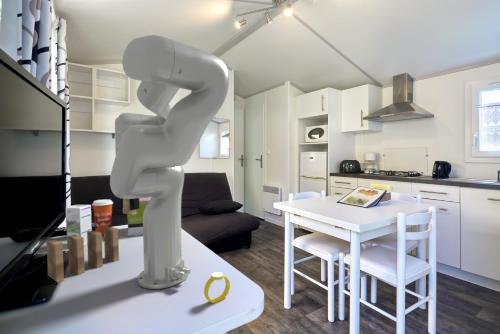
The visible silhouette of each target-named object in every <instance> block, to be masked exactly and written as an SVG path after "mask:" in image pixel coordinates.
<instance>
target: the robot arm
mask: <svg viewBox="0 0 500 334" xmlns="http://www.w3.org/2000/svg"><path fill="white" fill-rule="evenodd" d="M121 61H122V63H121V64H122V68H123V72H124V73H125V75H126V76H127V77H128V78H129V79H131V80H135V81H140V84H139V85H138V88H137V89H136V98H137V99H138V101H139V102H140V104H141V105H142V106H143V107H144V108H146V109H147V110H148V111H150V112H151V113H154V114H155V115H149V114H143V113H141V114H140V113H132V112H123V113H120V114H119V115H118V117H116V118H115V120H114V138H115V139H114V141H115V143H114V144H115V145H114V147H115V157H114V161H113V164H112V167H111V171H110V176H109V185H110V189H111V192H112V194H113V195H114V196H115V197H117V198H118V200H119V202H118V203H119V209H123V199H130V210H136V209H139V198H143V197H151V199H150V200H149V202H148V203H147V205H146V207H145V209H144V212H143V235H142V238H143V243H142V244H143V245H142V247H143V271H141V272H140V273H139V274H138V275H137V284H138V285H139V286H140V287H142V288H145V289H148V290H161V289H165V288H166V289H167V288H171V287H173V286H176V285H179V284H180V283H182V282H185V281H186V280H187V279H188V276H189V275H190V274H191V268H187V267H186V266H185V260H184V259H183V260H182V197H183V195H182V194H183V188H184V183H185V171H184V168H183V166H185V165H186V164H187V163H188V162H189V161H190V159H191V157H192V156H193V153H194V152H195V150H196V148H197V146H198V145H199V142H200V141H201V139H202V137H203V135H204V132H205V131H206V129H207V128H208V126H209V124H210V123H211V122H212V120H213V119H214V117H216V115H217V114H218V112H219V111H220V109H221V108H222V106H223V104H224V102H225V101H226V98H227V95H228V91H229V86H230V85H229V84H230V75H229V69H228V67H227V65H226V64H225V62H224V61H223V60H222V59H220V58H219V57H218V56H217V55H214V54H212V53H210V52H208V51H205V50H203V49H201V48H199V47H198V48H197V47H195V46H191V45H188V44H185V43H182V42H179V41H176V40H173V39H171V38H167V37H165V36H160V35H157V34H151V35H150V34H149V35H145V36H140V37H136V38H134V39H132V40H131V41H130V42H129V43H128V44H127V46H125V49H124V50H123V54H122V60H121ZM180 89H182V90H188V91H191V92H190V93H189V94H188V95H186V96H184V97H182V99H179V100H178V102H176V103H175V104H174V105H172V106H171V105H170V103H171V102H172V100H173V99H174V97H175V95H176V94H177V92H178V91H179V90H180Z"/></svg>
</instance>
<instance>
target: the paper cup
mask: <svg viewBox="0 0 500 334" xmlns="http://www.w3.org/2000/svg"><path fill="white" fill-rule="evenodd" d="M113 204H114V202H113V200H111V199H97V200H94V201H93V203H92V204H91V206H92V209H93V210H92V211H93V220H94V221H93V222H94V229H95V230H94V231H97V232H101V233H102V236H104V228H105V227H112V216H113Z"/></svg>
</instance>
